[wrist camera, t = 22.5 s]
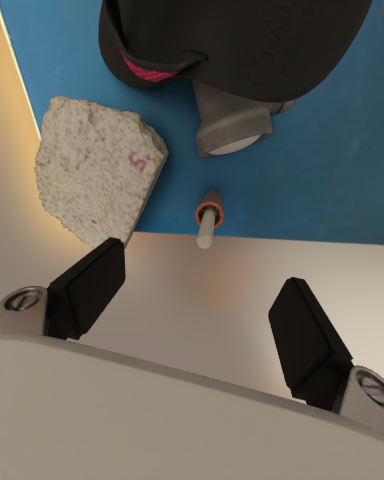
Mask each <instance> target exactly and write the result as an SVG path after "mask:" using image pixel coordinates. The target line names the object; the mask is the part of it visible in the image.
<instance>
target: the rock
mask: <svg viewBox="0 0 384 480" xmlns="http://www.w3.org/2000/svg"><path fill="white" fill-rule="evenodd" d="M41 124H42V126H41V128H42V137H41V142H40V148H39V150H38V152H37V154H36V159H35V160H36V167H35V173H36V182H37V188H38V190H39V191H40V193H39V198H40V200H41V201H42V205H43V207H44V209H45V211H47V212H48V213H49V214H50V215H51V216H54V217H56V218H57V219H59V220H60V221H61V224H62V225H63V227H64V228H67V229H68V230H69V231H71V232H72V233H74V234H75V235H76V236H77V237H78V238H79V239H80V240H81V241H82V242H84V243H85V244H86V245H88V246H89V247H90V248H91V249H92V250H94V249H95V248H96V247H97V246H99V245H100V244H101V243H103V242H104V241H105V240H106V239H108V238H109V237H114V238H118V239H121V241H122V242H123V243H124V249H125V248H126V246H127V244H128V241H129V240H130V238H131V236H132V234H133V232H134V229H135V227H136V225H137V223H138V221H139V218H140V216H141V214H142V212H143V210H144V208H145V206H146V204H147V201H148V199H149V197H150V195H151V193H152V190H153V188H154V186H155V184H156V182H157V180H158V177H159V175H160V173H161V171H162V168H163V166H164V164H165V162H166V159H167V157H168V154H169V152H168V150H167V147H166V144H165V142H164V140H163V139H162V137H160V136H159V135H158V133H157V132H155V130H154V128H152V127H150V126H148V125H146V123H145V122H144V121H142V118H141V116H140V114H138V113H136V112H129V111H121V110H120V109H117V110H115V109H112V108H106V107H104V106H103V105H100V104H98V103H97V102H94V101H90V102H88V101H86V100H79V99H76V100H71V99H70V98H69V97H67V96H61V95H56V96H55V97H54V98H53V99H50V107H49V109H48V111H47V112H46V113H45V115H44V118H43V121H42V123H41Z"/></svg>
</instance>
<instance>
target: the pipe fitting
mask: <svg viewBox="0 0 384 480" xmlns="http://www.w3.org/2000/svg"><path fill="white" fill-rule="evenodd" d="M192 84H193V88H194V92H195V97H196V101H197V106H198V110H199V114H200V119H201V125H200V128H199V130H198V133H197V136H196V145H197V149H198V154H199V157H202V158H205V157H211V156H216V155H221V154H228V153H232V152H235V151H238V150H240V149H243V148H245V147H247V146H248V145H250V144H253V143H255V142H258V141H260V140H262V139H264V138H265V137H267V136H269V135H270V134H271V133H272V123H271V116H270V113H275V114H279V113H282V112H285V111H287V110H289V109H290V108H291V106H292V105H293V103H294V100H292V101H288V102H283V103H265V102H259V101H254V100H250V99H247V98H243V97H240V96H237V95H234V94H231V93H229V92H226V91H223V90H220V89H218V88H215V87H212V86H210V85H207V84H204V83H201V82H199V81H196V80H193V79H192Z"/></svg>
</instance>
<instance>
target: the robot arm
mask: <svg viewBox="0 0 384 480" xmlns="http://www.w3.org/2000/svg"><path fill="white" fill-rule="evenodd" d="M124 281H125V255H124V243H123V242H122V241H121V239H118V238H114V237H109V238H108V239H106V240H105V241H104V242H103V243H101V244H100V245H99V246H97V247H96V248H95V249H94V250H92V251H91V252H90V253H89V254H87V255H86V256H85V257H83V258H82V259H81V260H80V261H78V262H77V263H76V264H75V265H73V266H72V267H71V268H69V269H68V270H67V271H65V272H64V273H63V274H62V275H60V276H59V277H58V278H56V279H55V280H54V281H53V282H51V283H50V286H49V287H48V288H46V289H45V288H43V287H40V286H30V287H25V288H21V289H19V290H16V291H14V292H12V293H11V294H9V295H7V296H6V297H5V298H4V299H3V300H2V301H1V302H0V480H384V379H383V378H382V377H381V376H379V375H378V374H377V373H375V372H373V371H372V370H370V369H368V368H366V367H363V366H358V365H357V366H354V365H353V363H352V362H351V360H352V359H353V357H352V356H351V354H350V352H349V351H348V349H347V348H346V346H345V344H344V343H343V341H342V339H341V338H340V336H339V335H338V333H337V331H336V330H335V328H334V326H333V325H332V323H331V322H330V320H329V319H328V317H327V315H326V314H325V312H324V311H323V309H322V307H321V305H320V304H319V302H318V301H317V299H316V297H315V296H314V294H313V293H312V291H311V289H310V287H309V286H308V284H307V283H306V281H305V280H304V279H299V278H295V277H291V278H290V279H287V280H286V282H285V284H284V285H283V287H282V289H281V291H280V293H279V295H278V296H277V298H276V300H275V302H274V303H273V305H272V307H271V309H270V310H269V314H268V317H269V321H270V325H271V329H272V333H273V336H274V340H275V344H276V348H277V351H278V355H279V359H280V363H281V367H282V370H283V374H284V378H285V382H286V385H287V387H289V388H290V390H291V393H292V397H293V398H297V399H301V400H304V401H305V400H306V403H307V405H306V404H303V403H300V402H296V401H293V400H289V399H286V398H282V397H278V396H275V395H272V394H268V393H264V392H260V391H257V390H253V389H249V388H246V387H242V386H238V385H235V384H231V383H228V382H224V381H220V380H216V379H213V378H208V377H205V376H201V375H198V374H194V373H190V372H187V371H183V370H179V369H175V368H171V367H168V366H164V365H160V364H156V363H153V362H149V361H145V360H141V359H137V358H134V357H130V356H126V355H122V354H118V353H114V352H111V351H107V350H103V349H99V348H95V347H91V346H87V345H83V344H79V343H75V342H71V341H66V339H67V338H71V339H75V340H78V339H79V338H80V337H81V336H82V334H86V333H87V332H88V331H89V329H90V328H91V327H92V325H93V324H94V323H95V321H96V320H97V319H98V317H99V316H100V314H101V313H102V312H103V310H104V309H105V308H106V306H107V305H108V304H109V302H110V301H111V299H112V298H113V297H114V295H115V294H116V293H117V291H118V290H119V289H120V287H121V286H122V285H123V283H124Z"/></svg>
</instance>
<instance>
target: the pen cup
mask: <svg viewBox="0 0 384 480" xmlns="http://www.w3.org/2000/svg"><path fill="white" fill-rule="evenodd" d="M206 205H212V206H215V207H216V212H215V221H214V229H215V228H217V227H218V226H219V225H221V223H222V221H223V219H224V210H223V198H222V196H221V194H220V193H219V192H217V191H208V192H206V193H205V194H204V195H203V196H202V198H201V201H200V203H199V205H198V207H197V210H196V212H195V220H196V222H197V223H198V225H199V226H201V222H202V219H203V215H204V212H205V208H206Z"/></svg>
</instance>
